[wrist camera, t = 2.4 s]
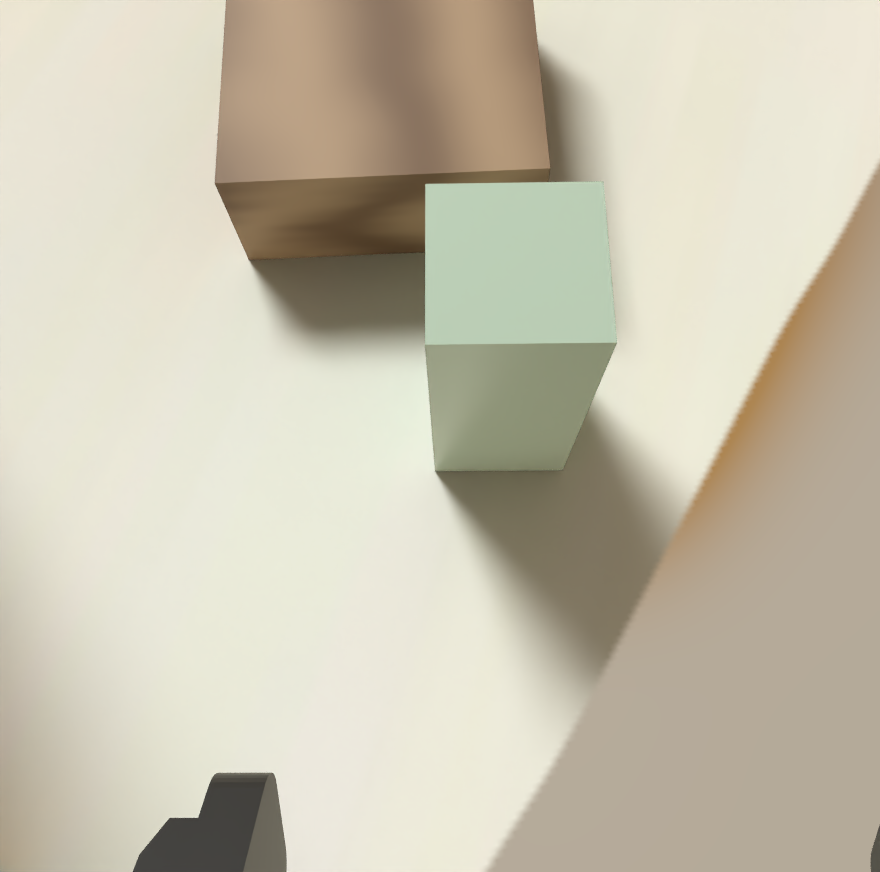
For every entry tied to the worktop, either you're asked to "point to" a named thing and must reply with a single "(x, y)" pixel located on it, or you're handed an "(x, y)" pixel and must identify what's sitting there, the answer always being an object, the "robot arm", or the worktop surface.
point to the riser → (370, 117)
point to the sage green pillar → (514, 320)
